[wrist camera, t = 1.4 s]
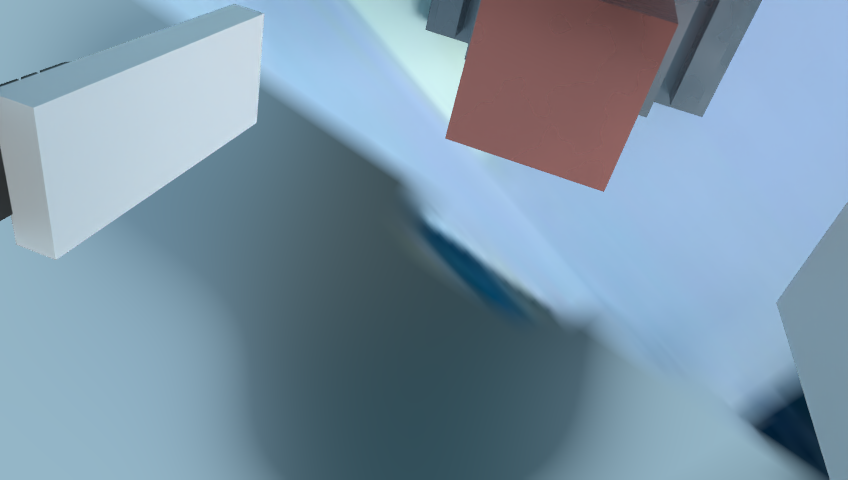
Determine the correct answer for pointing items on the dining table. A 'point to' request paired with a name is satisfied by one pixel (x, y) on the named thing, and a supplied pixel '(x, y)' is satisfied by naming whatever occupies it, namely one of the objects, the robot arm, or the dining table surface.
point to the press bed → (692, 64)
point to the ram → (564, 80)
